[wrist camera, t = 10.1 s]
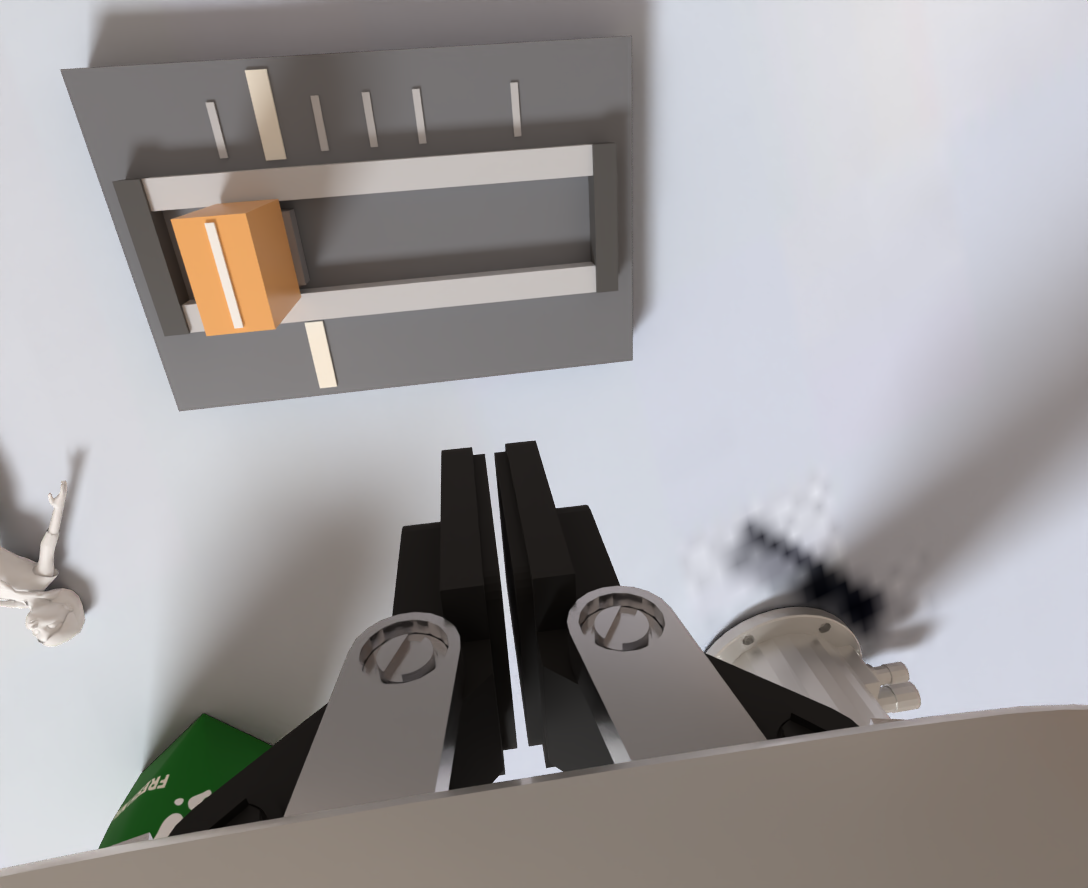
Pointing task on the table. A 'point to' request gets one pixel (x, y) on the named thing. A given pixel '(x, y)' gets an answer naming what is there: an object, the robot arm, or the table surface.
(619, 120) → the console
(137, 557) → the table surface
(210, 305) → the fader
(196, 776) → the milk carton
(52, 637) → the woman figurine
